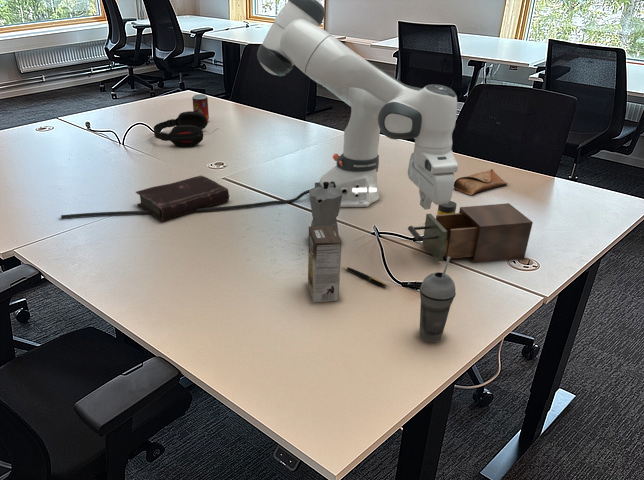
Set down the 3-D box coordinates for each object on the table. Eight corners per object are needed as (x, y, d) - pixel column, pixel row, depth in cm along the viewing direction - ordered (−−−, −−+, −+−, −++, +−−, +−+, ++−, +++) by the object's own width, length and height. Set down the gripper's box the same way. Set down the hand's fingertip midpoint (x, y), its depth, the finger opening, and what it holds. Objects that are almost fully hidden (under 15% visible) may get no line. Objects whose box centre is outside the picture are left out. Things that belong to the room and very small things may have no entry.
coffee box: (306, 284, 148) (307, 225, 140) (331, 282, 149) (334, 224, 140) (312, 303, 141) (314, 242, 132) (339, 301, 141) (342, 241, 133)
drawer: (417, 263, 154) (421, 233, 149) (402, 244, 163) (406, 215, 159) (485, 257, 156) (491, 227, 151) (467, 239, 165) (472, 210, 160)
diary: (229, 202, 194) (229, 188, 192) (163, 223, 182) (161, 208, 180) (200, 186, 207) (199, 173, 205) (136, 205, 195) (134, 190, 192)
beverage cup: (420, 323, 132) (432, 243, 122) (452, 333, 129) (467, 252, 118) (407, 339, 127) (418, 258, 117) (440, 350, 124) (455, 267, 113)
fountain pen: (341, 269, 154) (341, 264, 154) (344, 267, 155) (344, 262, 154) (385, 289, 145) (385, 284, 144) (388, 287, 146) (388, 282, 145)
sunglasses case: (472, 195, 193) (467, 175, 192) (456, 199, 199) (451, 180, 198) (509, 183, 200) (504, 164, 200) (493, 188, 206) (488, 169, 206)
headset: (226, 143, 250) (225, 122, 245) (168, 153, 240) (165, 132, 235) (202, 127, 271) (201, 108, 267) (147, 136, 262) (145, 116, 257)
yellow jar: (439, 229, 173) (442, 207, 169) (433, 222, 177) (436, 201, 173) (455, 228, 173) (459, 206, 169) (448, 221, 177) (452, 199, 174)
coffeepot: (333, 254, 161) (336, 192, 152) (301, 249, 165) (301, 188, 155) (347, 231, 174) (350, 172, 164) (316, 227, 177) (318, 169, 167)
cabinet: (473, 263, 155) (480, 226, 150) (454, 241, 166) (459, 207, 160) (524, 258, 156) (533, 222, 151) (501, 237, 167) (509, 203, 161)
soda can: (191, 123, 277) (189, 96, 270) (198, 119, 282) (196, 93, 276) (204, 124, 274) (202, 97, 268) (211, 120, 280) (210, 94, 273)
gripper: (404, 143, 153) (399, 193, 160) (435, 169, 136) (428, 224, 143) (428, 141, 153) (421, 191, 161) (461, 167, 136) (452, 222, 144)
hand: (424, 207), depth 152 cm, fingers closed
